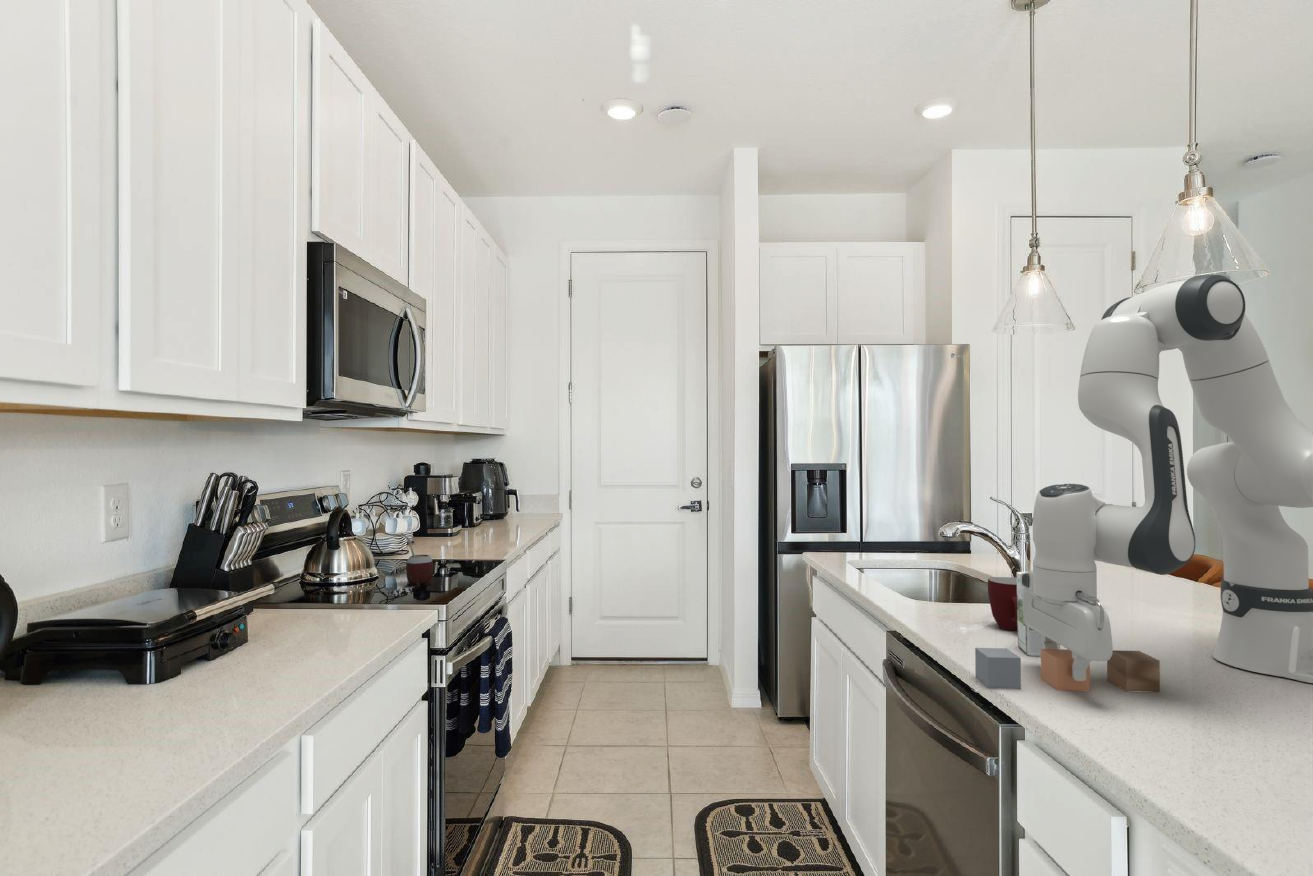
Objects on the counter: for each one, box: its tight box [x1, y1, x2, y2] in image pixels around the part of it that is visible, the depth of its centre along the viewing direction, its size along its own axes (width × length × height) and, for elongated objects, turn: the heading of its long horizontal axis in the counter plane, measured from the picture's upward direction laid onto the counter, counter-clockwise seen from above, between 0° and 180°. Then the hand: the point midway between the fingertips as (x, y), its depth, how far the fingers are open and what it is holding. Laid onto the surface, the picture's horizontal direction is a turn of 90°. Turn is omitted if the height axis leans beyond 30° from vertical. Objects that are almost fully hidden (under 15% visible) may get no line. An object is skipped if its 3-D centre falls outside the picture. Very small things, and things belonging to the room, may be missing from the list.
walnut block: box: [1106, 649, 1161, 693], centre depth 108 cm, size 5×5×5 cm
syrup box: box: [1016, 571, 1061, 658], centre depth 125 cm, size 6×6×14 cm
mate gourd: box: [400, 532, 434, 589], centre depth 185 cm, size 8×8×15 cm
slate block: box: [974, 647, 1022, 690], centre depth 109 cm, size 5×5×5 cm
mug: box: [987, 576, 1018, 632], centre depth 140 cm, size 10×8×10 cm
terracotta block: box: [1040, 648, 1091, 692], centre depth 109 cm, size 5×5×5 cm
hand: (1064, 671), depth 109 cm, fingers open, 6 cm apart
